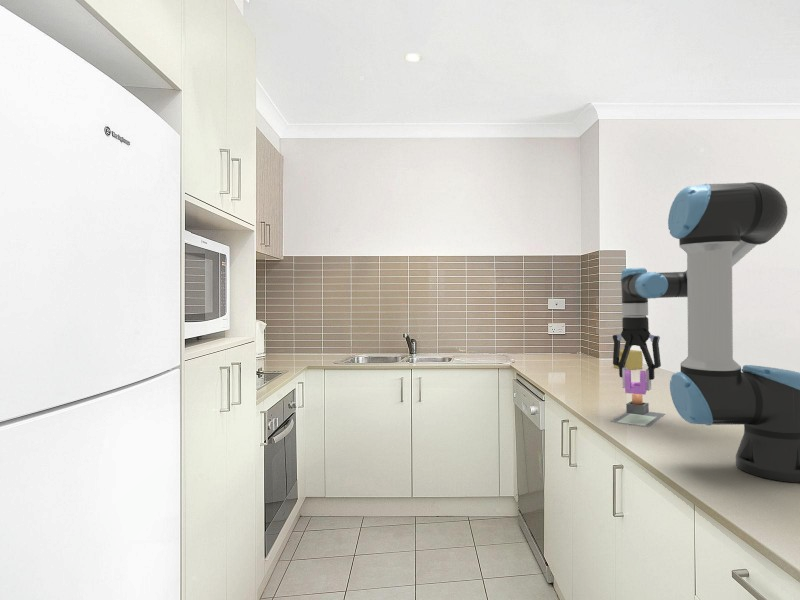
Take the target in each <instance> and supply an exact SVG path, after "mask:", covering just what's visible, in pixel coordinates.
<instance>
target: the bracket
mask: <svg viewBox="0 0 800 600" xmlns="http://www.w3.org/2000/svg"><path fill="white" fill-rule="evenodd" d="M624 389H625V392H624V393H625V394H631V395H632V394H642V395H646V394H647V390H646V370H640V371H639V382H638V381H632V370H625V388H624Z"/></svg>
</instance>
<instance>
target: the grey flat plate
mask: <svg viewBox="0 0 800 600" xmlns="http://www.w3.org/2000/svg"><path fill="white" fill-rule="evenodd" d="M665 415H666V413H661V412H653V411H649V412H648V413H646V414H645V415H640V414H632V413H626V412H624V413H623V414H621V415H619V416H617V417H616V418H614V419H613V420H611V421H610V423H614V424H615V423H616V424H620V425H621V424H623V425H627V426H628V425H629V426H636V427H641V428H642V427H643V428H650V426H652V425H653V424H655V423H656V422H657V421H659V420H660V419H661V418H663V417H664V416H665Z"/></svg>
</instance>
